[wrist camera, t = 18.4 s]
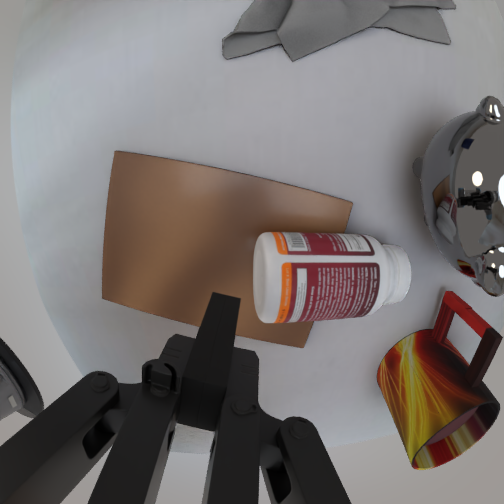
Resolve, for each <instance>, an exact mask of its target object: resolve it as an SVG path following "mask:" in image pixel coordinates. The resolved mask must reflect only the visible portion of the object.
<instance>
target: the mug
mask: <svg viewBox="0 0 504 504" xmlns="http://www.w3.org/2000/svg"><path fill="white" fill-rule="evenodd" d="M455 312H456V313H457V314H458V315H459V316H460V317H461V318H462V319H463V320H464V321H465V322H466V323H467V324H468V325H469V326H470V327H471V328H472V329H473V330H474V331H475V332H476V333H477V334H478V335H479V336H480V337H481V338H482V339H481V341H480V344H479V346H478V348H477V351H476V353H475V355H474V357H473V359H472V361H471V363H470V365H469V364H468V362H467V361H466V360H465V359H464V357H463V356H462V355H461V354H460V353H459V351H458V350H457V349H456V348H455V347H454V346H453V344H452V343H451V342H450V341H449V340H448V339H447V337H446V336H447V333H448V331H449V328H450V325H451V322H452V319H453V316H454V314H455ZM502 338H503V337H502V336H501V335H500V334H499V333H498V332H497V331H496V330H495V329H494V328H492V327H491V326H490V325H489V324H488V323H487V322H486V321H485V320H484V319H483V318H481V317H480V316H479V315H478V314H477V313H476V312H475V311H474V310H472V307H470V306H469V305H468V304H467V303H466V302H465V301H463V300H462V299H461V298H460V297H459V296H457V295H456V294H455V293H454V292H453V291H446V292H445V294H444V297H443V301H442V304H441V307H440V311H439V314H438V317H437V320H436V323H435V326H434V329H425V330H421V331H418V332H415V333H412V334H410V335H409V336H407V337H405V338H404V339H402V340H401V341H399V342H398V343H397V344H396V345H395V346H394V347H393V348H391V349H390V351H389V352H388V353H387V354H386V355H385V357H384V359H383V360H382V362H381V364H380V366H379V368H378V373H377V382H378V385H379V387H380V389H381V392H382V394H383V396H384V399H385V401H386V403H387V406H388V408H389V410H390V413H391V415H392V417H393V420H394V422H395V425H396V427H397V430H398V432H399V434H400V437H401V440H402V442H403V445H404V447H405V450H406V452H407V455H408V458H409V460H410V463H411V465H412V467H413V468H414V469H417V470H426V469H431V468H434V467H438V466H440V465H442V464H444V463H447V462H449V461H451V460H453V459H454V458H456V457H458V456H459V455H461V454H462V453H464V452H465V451H467V450H468V449H469V448H470V447H472V446H473V445H474V444H475V443H476V442H477V441H479V440H480V439H481V438H482V437H483V436H484V435H485V433H486V432H487V431H488V430H489V429H490V427H491V426H492V425H493V423H494V422H495V420H496V419H497V416H498V414H499V411H500V404H499V402H498V401H497V400H496V398H495V397H494V396H493V394H492V393H491V392H490V390H489V389H488V388H487V386H486V385H485V384H484V382H483V381H482V379H483V377H484V375H485V373H486V371H487V369H488V367H489V366H490V363H491V361H492V359H493V357H494V355H495V353H496V351H497V349H498V347H499V345H500V343H501V340H502Z"/></svg>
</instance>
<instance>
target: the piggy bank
mask: <svg viewBox="0 0 504 504" xmlns="http://www.w3.org/2000/svg"><path fill="white" fill-rule="evenodd" d="M413 171H414V174H415V175H416V176H417V177H418V178H419V179H420V180H421V194H422V202H423V207H424V212H425V215H424V221H425V223H426V225H427V226H428V227H429V230H430V233H431V235H432V238H433V240H434V242H435V244H436V246H437V248H438V249H439V251H440V252H441V254H442V255H443V257H444V258H445V259H446V260H447V262H448V263H449V264H450V265H451V266H452V267H453V268H454V269H456V270H457V271H458V272H460V273H461V274H463V275H465V276H466V277H469V278H471V280H472V281H473V283H474V284H475V285H477V286H479V287H482V288H483V290H484V291H485V292H486V293H487V294H489V295H491V296H495V297H497V296H501V295H503V294H504V106H503V105H502V104H501V103H500V101H499V100H498V99H497V98H495V97H493V96H487V97H485V98H483V99H482V100H481V102H480V104H479V105H478V107H477V109H476V111H472V112H468V113H464V114H462V115H459V116H457V117H455V118H454V119H452V120H450V121H449V122H447V123H446V124H445V125H444V126H443V127H441V128H440V129H439V131H438V132H437V133H436V134H435V135H434V137H433V138H432V140H431V141H430V143H429V145H428V147H427V149H426V152H425V155H424V157H419V158H417V159H416V160H415V161H414V163H413Z"/></svg>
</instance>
